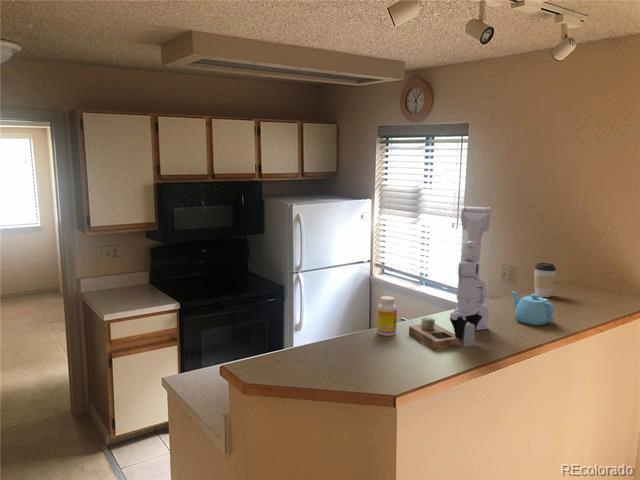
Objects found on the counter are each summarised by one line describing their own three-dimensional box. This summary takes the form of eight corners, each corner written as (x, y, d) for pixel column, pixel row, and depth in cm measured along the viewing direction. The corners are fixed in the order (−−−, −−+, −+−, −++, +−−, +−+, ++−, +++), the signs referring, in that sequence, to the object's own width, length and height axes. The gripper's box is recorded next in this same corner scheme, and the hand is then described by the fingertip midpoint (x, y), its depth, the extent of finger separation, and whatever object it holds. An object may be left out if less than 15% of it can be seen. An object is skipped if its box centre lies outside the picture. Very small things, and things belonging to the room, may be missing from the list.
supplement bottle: (395, 337, 175) (396, 300, 173) (376, 335, 176) (377, 299, 174) (396, 330, 182) (397, 295, 180) (377, 329, 183) (378, 294, 181)
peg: (466, 341, 172) (467, 321, 171) (473, 345, 168) (474, 324, 167) (456, 342, 170) (457, 322, 169) (463, 346, 166) (464, 326, 165)
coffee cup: (534, 297, 228) (537, 265, 226) (530, 292, 237) (532, 261, 235) (556, 298, 227) (559, 265, 225) (550, 293, 236) (553, 262, 233)
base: (433, 331, 182) (434, 314, 181) (461, 346, 166) (462, 329, 165) (408, 334, 178) (409, 317, 177) (435, 350, 163) (435, 332, 162)
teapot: (519, 286, 204) (563, 296, 190) (517, 312, 206) (561, 324, 191) (501, 291, 196) (546, 301, 182) (499, 318, 198) (544, 330, 184)
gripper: (469, 292, 174) (467, 330, 176) (443, 297, 165) (441, 338, 167) (487, 296, 169) (485, 335, 171) (462, 302, 160) (459, 344, 161)
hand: (464, 337), depth 168 cm, fingers open, 6 cm apart
